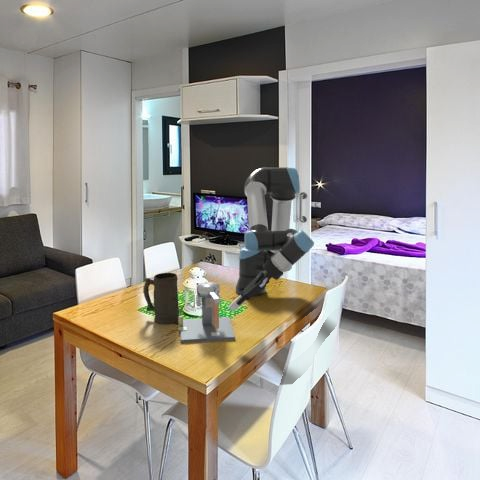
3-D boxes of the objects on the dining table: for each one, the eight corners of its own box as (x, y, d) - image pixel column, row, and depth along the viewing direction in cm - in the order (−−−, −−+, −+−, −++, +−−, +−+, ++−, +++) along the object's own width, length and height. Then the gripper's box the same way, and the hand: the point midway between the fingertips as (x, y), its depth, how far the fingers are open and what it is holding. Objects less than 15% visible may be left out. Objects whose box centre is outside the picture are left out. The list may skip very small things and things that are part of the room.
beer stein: (183, 315, 178) (179, 271, 175) (179, 324, 168) (174, 278, 164) (149, 316, 179) (144, 273, 175) (142, 326, 169) (137, 279, 165)
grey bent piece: (195, 313, 168) (194, 283, 166) (216, 310, 171) (216, 281, 168) (205, 330, 151) (204, 297, 149) (228, 327, 154) (228, 294, 152)
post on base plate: (229, 319, 173) (229, 289, 171) (235, 339, 154) (235, 306, 151) (178, 322, 170) (178, 291, 168) (178, 343, 151) (177, 308, 148)
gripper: (285, 277, 144) (237, 322, 147) (283, 268, 157) (239, 309, 160) (270, 262, 143) (222, 307, 147) (269, 254, 156) (225, 296, 159)
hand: (231, 308), depth 153 cm, fingers closed
